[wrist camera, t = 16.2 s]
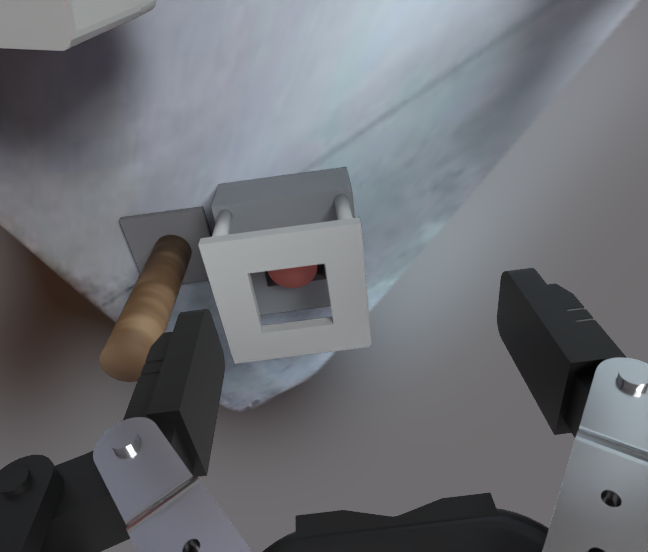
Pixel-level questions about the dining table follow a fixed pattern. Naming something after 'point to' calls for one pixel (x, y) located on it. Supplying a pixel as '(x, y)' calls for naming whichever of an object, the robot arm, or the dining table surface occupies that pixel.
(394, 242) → the dining table surface
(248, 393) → the dining table surface
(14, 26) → the electrical switch box
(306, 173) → the grey square frame
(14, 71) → the dining table surface
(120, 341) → the wooden cylinder rod
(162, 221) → the pad
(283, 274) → the breaker plunger
